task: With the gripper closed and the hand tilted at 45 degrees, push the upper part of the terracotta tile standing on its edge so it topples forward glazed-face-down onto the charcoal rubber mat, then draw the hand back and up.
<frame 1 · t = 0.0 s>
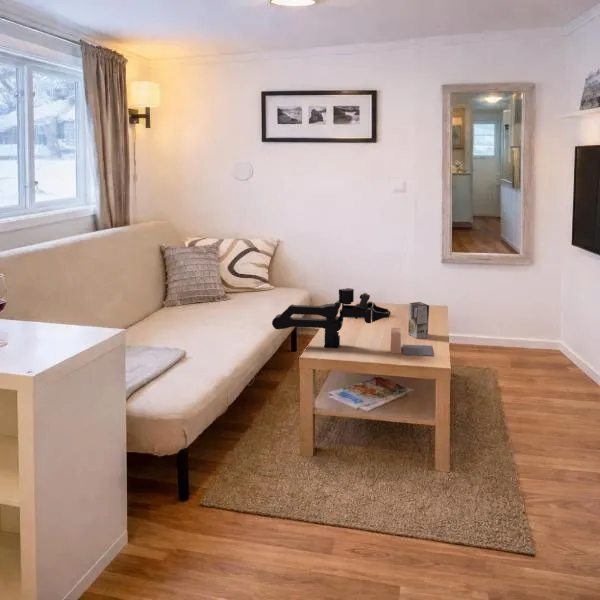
hand: (388, 312, 293), 17 cm above the table, tool horizontal, fingers open, 9 cm apart
terracotta tile: (395, 349, 293), on the table
coffee box: (417, 336, 317), on the table
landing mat: (417, 350, 292), on the table
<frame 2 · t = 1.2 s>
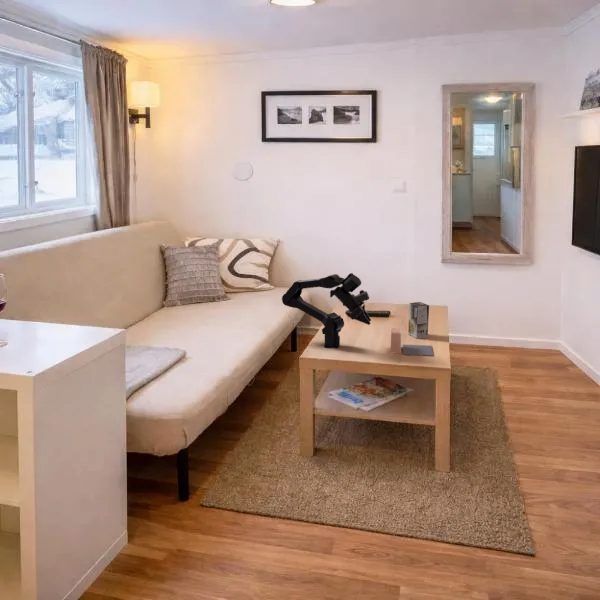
hand: (370, 322, 293), 12 cm above the table, tool tilted 45°, fingers open, 6 cm apart
nothing on the table moved.
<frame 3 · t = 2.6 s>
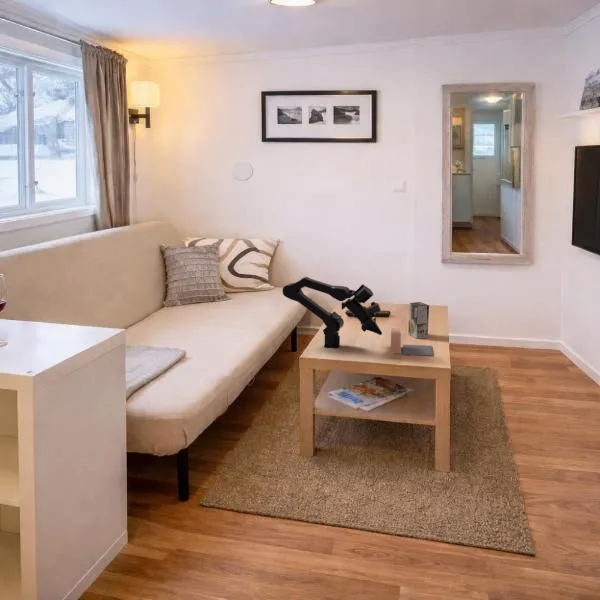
hand: (381, 334, 293), 7 cm above the table, tool tilted 45°, fingers closed
nothing on the table moved.
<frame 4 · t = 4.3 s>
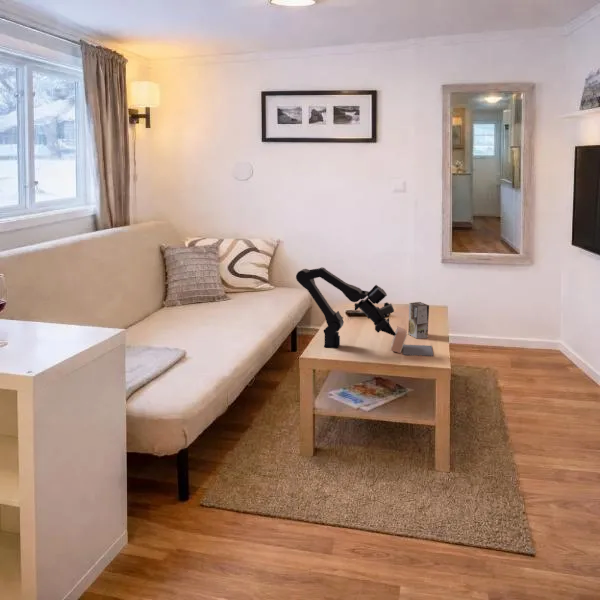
hand: (394, 334, 292), 7 cm above the table, tool tilted 45°, fingers closed
terracotta tile: (395, 348, 293), on the table, tilted 16°
everything else where it was.
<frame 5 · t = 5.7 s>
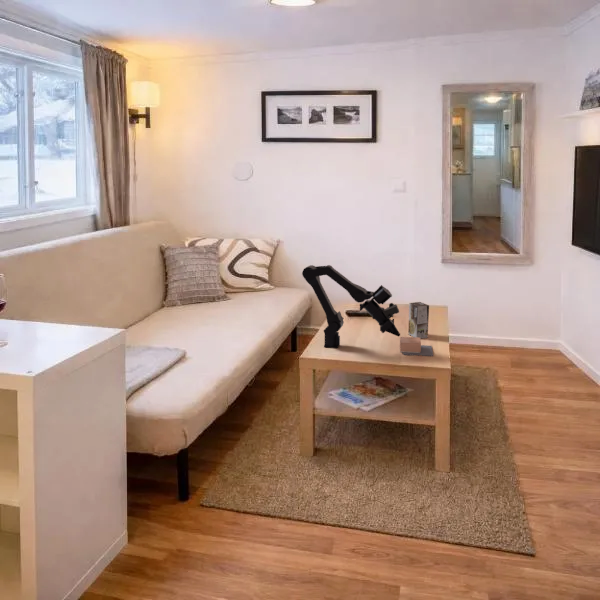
hand: (399, 335, 292), 7 cm above the table, tool tilted 45°, fingers closed
terracotta tile: (400, 343, 293), point 3 cm above the table, tilted 90°, touching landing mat
everything else where it was.
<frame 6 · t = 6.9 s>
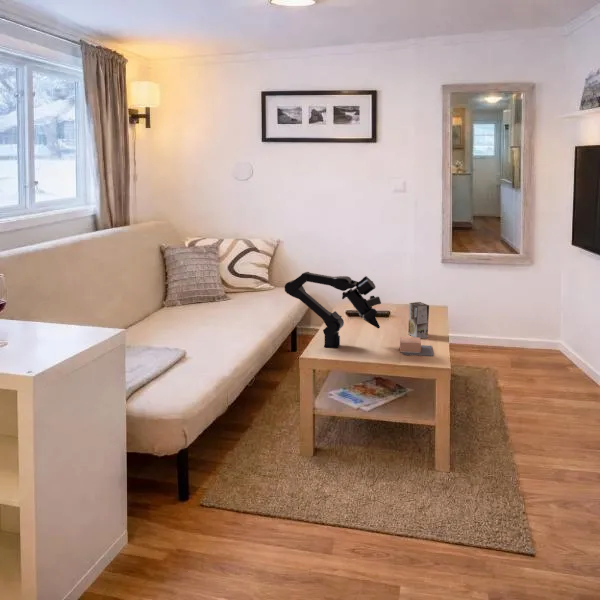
hand: (379, 327, 293), 10 cm above the table, tool tilted 40°, fingers closed
nothing on the table moved.
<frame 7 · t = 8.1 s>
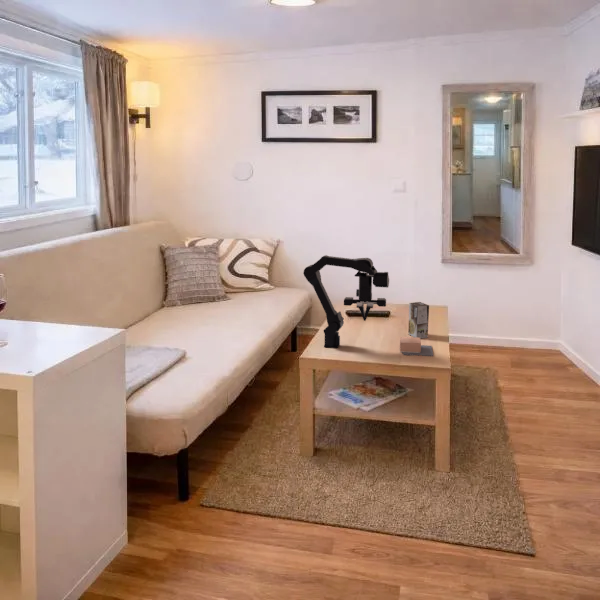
hand: (364, 320, 293), 13 cm above the table, tool pointing down, fingers closed
nothing on the table moved.
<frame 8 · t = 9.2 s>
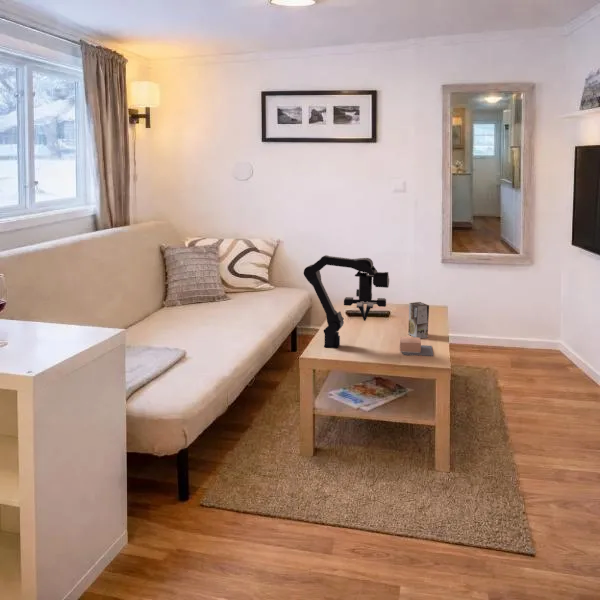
hand: (364, 320, 293), 13 cm above the table, tool pointing down, fingers closed
nothing on the table moved.
at the end: terracotta tile tilted 90°; terracotta tile inside the target area (3.9 cm from its centre), point 2.8 cm above the table; the gripper is holding nothing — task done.
